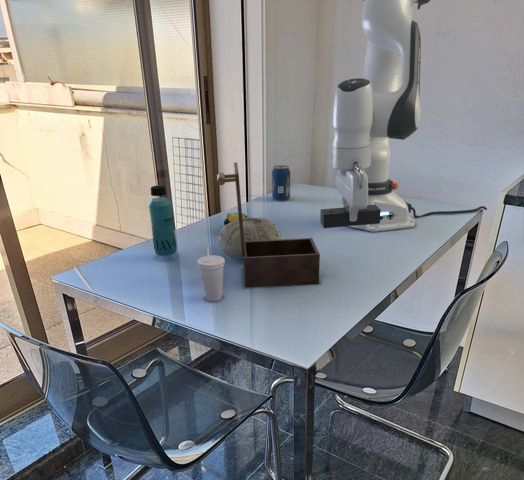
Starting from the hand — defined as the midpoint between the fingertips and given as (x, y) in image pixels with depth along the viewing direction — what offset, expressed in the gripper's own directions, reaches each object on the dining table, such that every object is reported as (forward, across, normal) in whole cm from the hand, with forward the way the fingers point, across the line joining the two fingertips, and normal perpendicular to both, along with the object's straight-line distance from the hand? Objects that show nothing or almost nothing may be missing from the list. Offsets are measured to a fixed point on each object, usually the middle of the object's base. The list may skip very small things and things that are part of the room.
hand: (349, 216), depth 124 cm
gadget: (+14, +40, +28) cm, 51 cm away
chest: (+14, 0, +18) cm, 23 cm away
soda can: (+15, +74, +10) cm, 76 cm away
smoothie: (+14, -11, +35) cm, 39 cm away
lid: (-4, 0, +27) cm, 27 cm away
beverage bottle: (+13, +18, +49) cm, 54 cm away
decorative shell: (+14, +16, +25) cm, 33 cm away
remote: (+2, 0, 0) cm, 2 cm away
